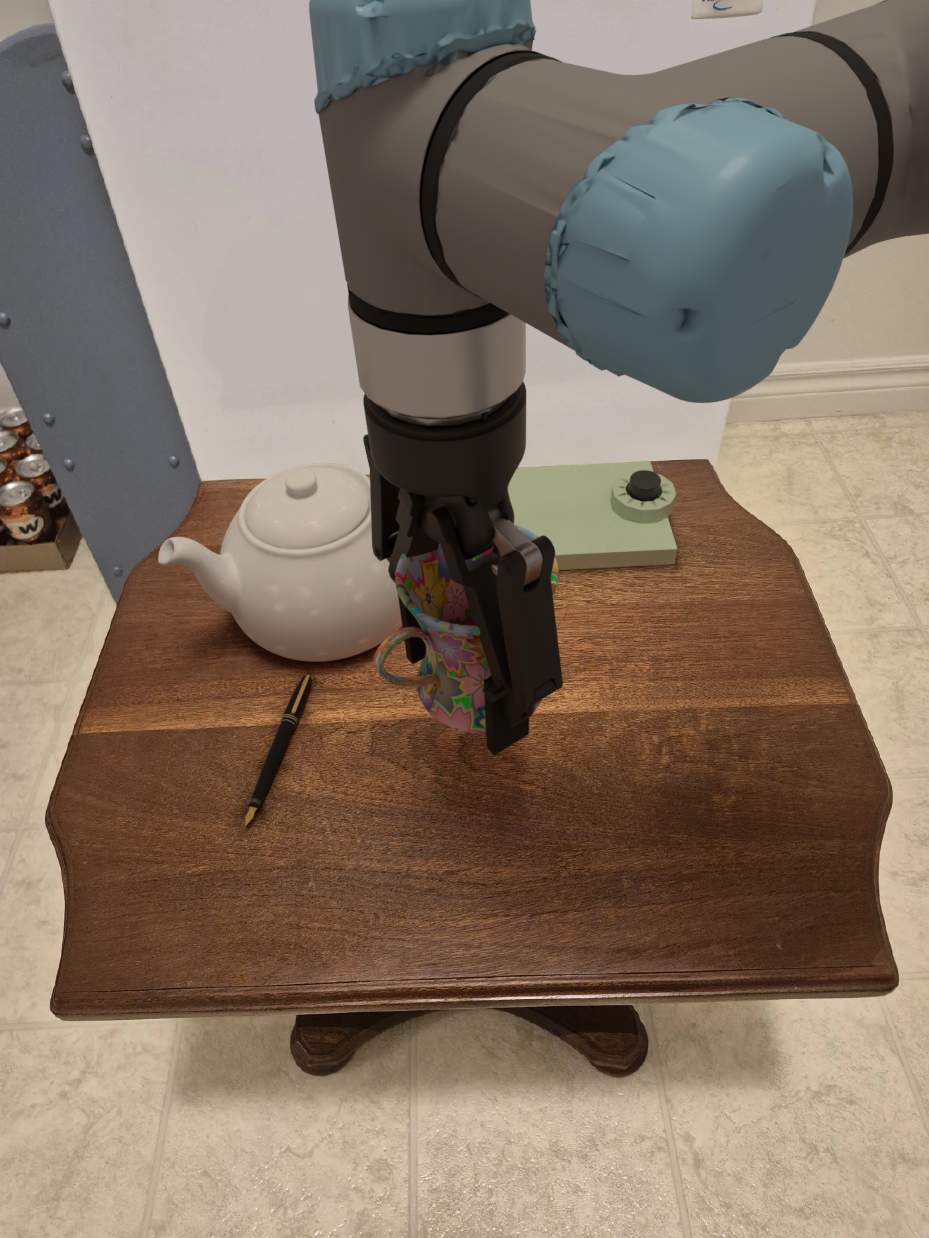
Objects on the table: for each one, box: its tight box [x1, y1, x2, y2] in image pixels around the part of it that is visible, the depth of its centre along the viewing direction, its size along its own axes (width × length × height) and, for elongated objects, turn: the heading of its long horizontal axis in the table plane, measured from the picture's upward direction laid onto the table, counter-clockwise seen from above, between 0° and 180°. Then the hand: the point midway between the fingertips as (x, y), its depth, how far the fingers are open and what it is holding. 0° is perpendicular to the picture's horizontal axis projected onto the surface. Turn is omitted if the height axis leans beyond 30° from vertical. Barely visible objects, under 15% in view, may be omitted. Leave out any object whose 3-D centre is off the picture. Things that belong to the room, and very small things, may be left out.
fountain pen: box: [244, 671, 312, 828], centre depth 63 cm, size 14×1×2 cm, turn 169°
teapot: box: [157, 462, 403, 663], centre depth 70 cm, size 19×18×14 cm
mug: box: [373, 524, 560, 734], centre depth 51 cm, size 12×9×11 cm
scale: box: [508, 460, 678, 571], centre depth 79 cm, size 17×13×4 cm
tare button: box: [628, 470, 661, 502], centre depth 78 cm, size 3×3×2 cm
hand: (465, 694), depth 55 cm, fingers closed on mug, 8 cm apart
